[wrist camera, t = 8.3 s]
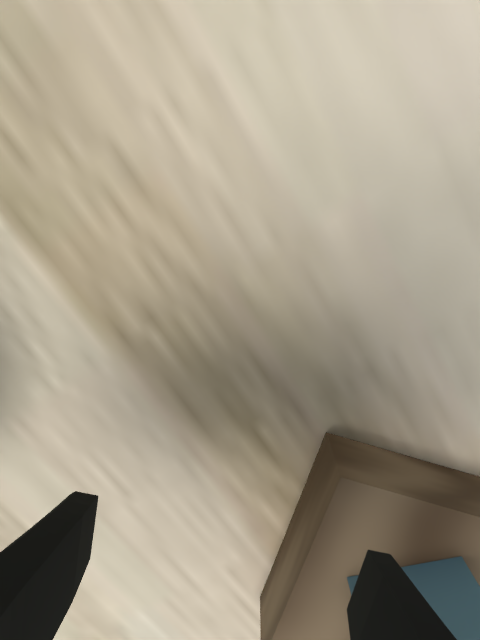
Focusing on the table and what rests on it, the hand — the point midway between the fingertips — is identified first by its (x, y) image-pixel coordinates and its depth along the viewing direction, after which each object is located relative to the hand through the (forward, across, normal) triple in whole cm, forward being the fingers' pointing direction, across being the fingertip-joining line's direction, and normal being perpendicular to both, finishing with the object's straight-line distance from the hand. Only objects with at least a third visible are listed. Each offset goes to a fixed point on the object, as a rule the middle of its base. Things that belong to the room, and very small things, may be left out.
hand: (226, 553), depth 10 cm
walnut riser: (+10, -10, +7) cm, 15 cm away
